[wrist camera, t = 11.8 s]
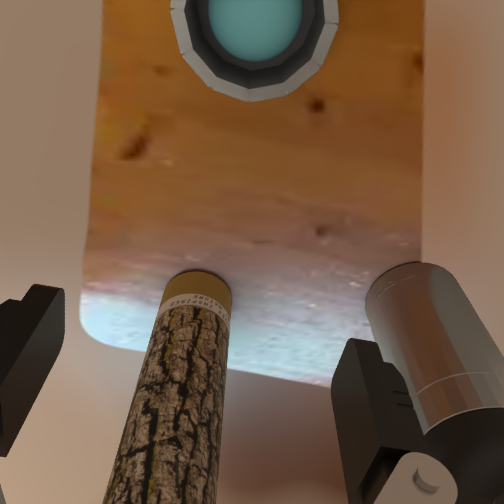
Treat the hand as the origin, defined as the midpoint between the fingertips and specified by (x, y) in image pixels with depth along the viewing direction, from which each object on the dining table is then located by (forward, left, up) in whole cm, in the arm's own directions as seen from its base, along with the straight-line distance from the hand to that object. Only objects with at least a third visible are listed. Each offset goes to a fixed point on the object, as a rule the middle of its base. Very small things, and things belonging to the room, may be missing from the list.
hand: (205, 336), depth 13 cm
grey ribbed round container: (+4, -5, -28) cm, 29 cm away
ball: (+4, -5, -24) cm, 25 cm away
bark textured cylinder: (-12, +16, -28) cm, 35 cm away
